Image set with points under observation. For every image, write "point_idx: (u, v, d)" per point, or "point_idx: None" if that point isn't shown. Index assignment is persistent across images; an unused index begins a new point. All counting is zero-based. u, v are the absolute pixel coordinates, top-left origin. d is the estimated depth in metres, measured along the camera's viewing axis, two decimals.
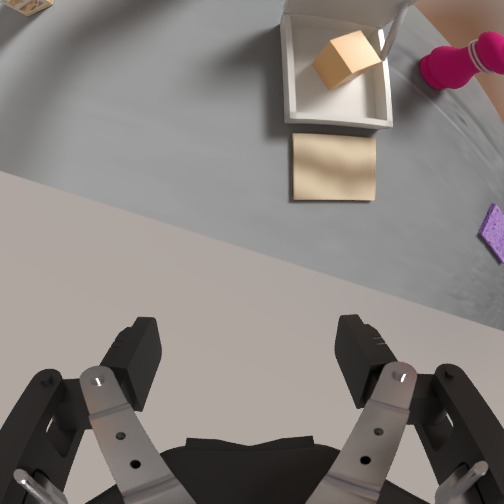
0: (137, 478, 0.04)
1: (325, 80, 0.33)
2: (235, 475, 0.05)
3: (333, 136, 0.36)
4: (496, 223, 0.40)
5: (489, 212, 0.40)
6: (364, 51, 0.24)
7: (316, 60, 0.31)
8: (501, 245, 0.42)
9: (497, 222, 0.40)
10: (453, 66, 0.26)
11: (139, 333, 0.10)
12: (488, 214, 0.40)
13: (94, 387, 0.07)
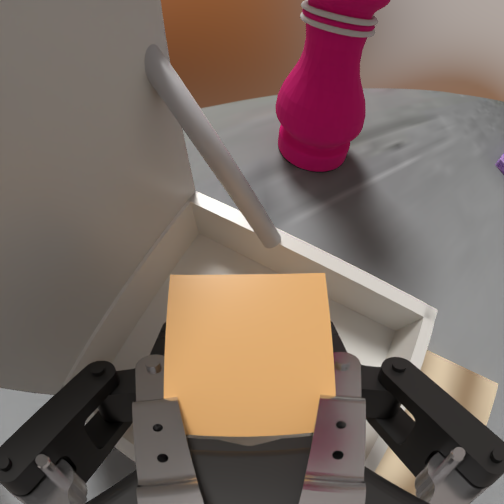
0: (159, 472, 0.04)
1: None
2: (235, 475, 0.05)
3: None
4: None
5: None
6: (264, 320, 0.08)
7: None
8: None
9: None
10: (337, 90, 0.16)
11: None
12: None
13: (154, 375, 0.08)
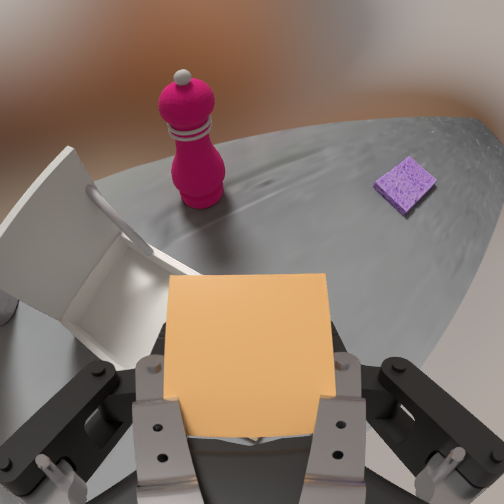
0: (159, 471, 0.04)
1: None
2: (235, 475, 0.05)
3: None
4: (396, 185, 0.42)
5: (383, 193, 0.42)
6: (264, 321, 0.08)
7: None
8: (419, 182, 0.43)
9: (394, 184, 0.42)
10: (193, 167, 0.33)
11: None
12: (385, 195, 0.42)
13: (154, 375, 0.08)
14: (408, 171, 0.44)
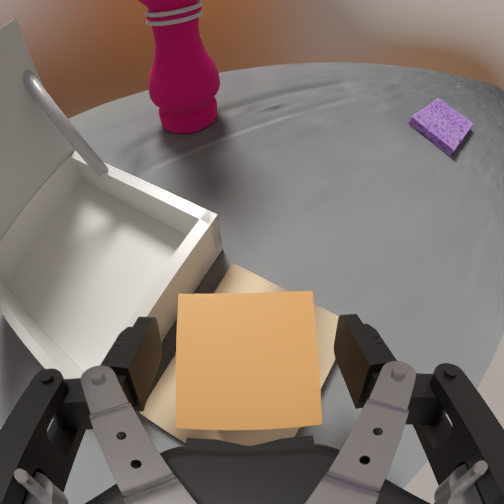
0: (138, 478, 0.04)
1: None
2: (235, 475, 0.05)
3: None
4: (435, 123, 0.29)
5: (422, 130, 0.29)
6: (260, 332, 0.09)
7: None
8: (456, 123, 0.30)
9: (432, 121, 0.29)
10: (175, 65, 0.21)
11: (140, 333, 0.10)
12: (425, 133, 0.29)
13: (95, 387, 0.07)
14: (442, 111, 0.31)
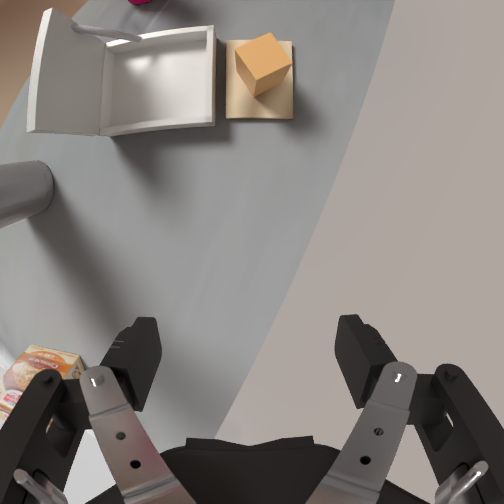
0: (137, 478, 0.04)
1: (273, 85, 0.33)
2: (235, 475, 0.05)
3: (227, 79, 0.34)
4: None
5: None
6: (262, 47, 0.25)
7: (255, 92, 0.33)
8: None
9: None
10: None
11: (139, 333, 0.10)
12: None
13: (94, 387, 0.07)
14: None
